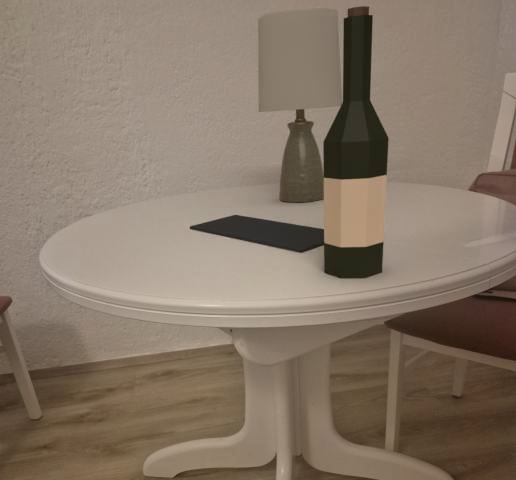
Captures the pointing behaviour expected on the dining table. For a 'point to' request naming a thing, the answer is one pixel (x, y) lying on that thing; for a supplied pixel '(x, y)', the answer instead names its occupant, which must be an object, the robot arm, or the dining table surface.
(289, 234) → the mat
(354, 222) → the wine bottle
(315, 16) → the lamp
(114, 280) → the dining table surface
